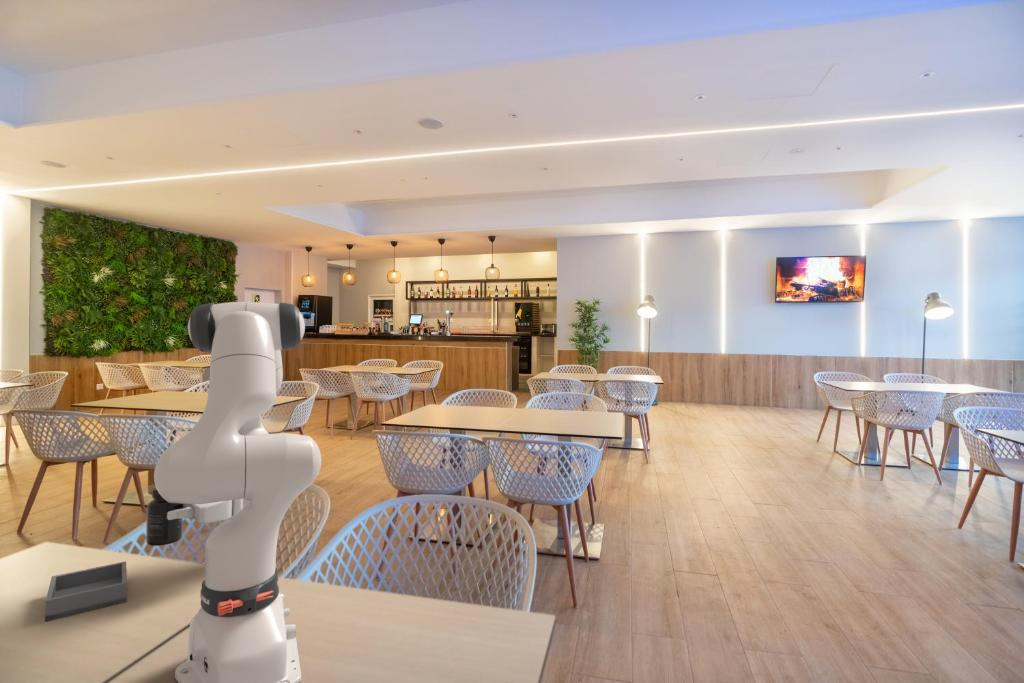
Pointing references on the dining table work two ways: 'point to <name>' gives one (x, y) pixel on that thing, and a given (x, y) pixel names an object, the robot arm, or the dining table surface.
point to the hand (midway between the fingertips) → (160, 511)
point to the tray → (86, 590)
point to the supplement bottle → (162, 522)
